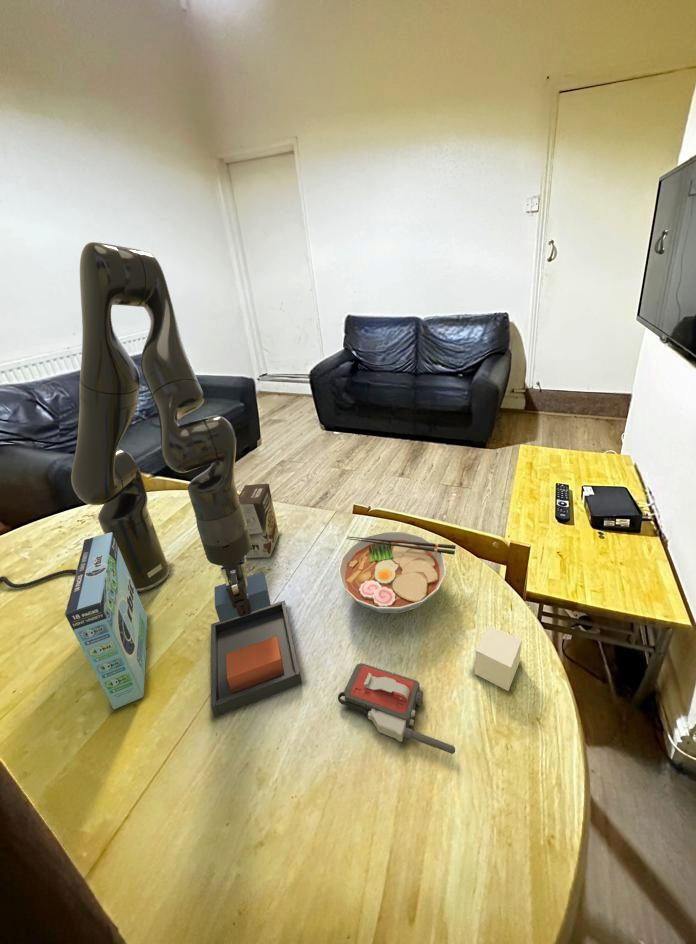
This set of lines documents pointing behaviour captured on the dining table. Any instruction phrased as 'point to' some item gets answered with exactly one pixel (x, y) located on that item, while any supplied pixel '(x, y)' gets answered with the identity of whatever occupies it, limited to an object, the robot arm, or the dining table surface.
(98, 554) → the gum box
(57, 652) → the dining table surface
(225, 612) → the blue rectangular block
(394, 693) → the walkie-talkie
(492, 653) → the beige cube
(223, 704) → the holder
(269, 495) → the coffee box
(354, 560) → the ramen bowl
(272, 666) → the pad
